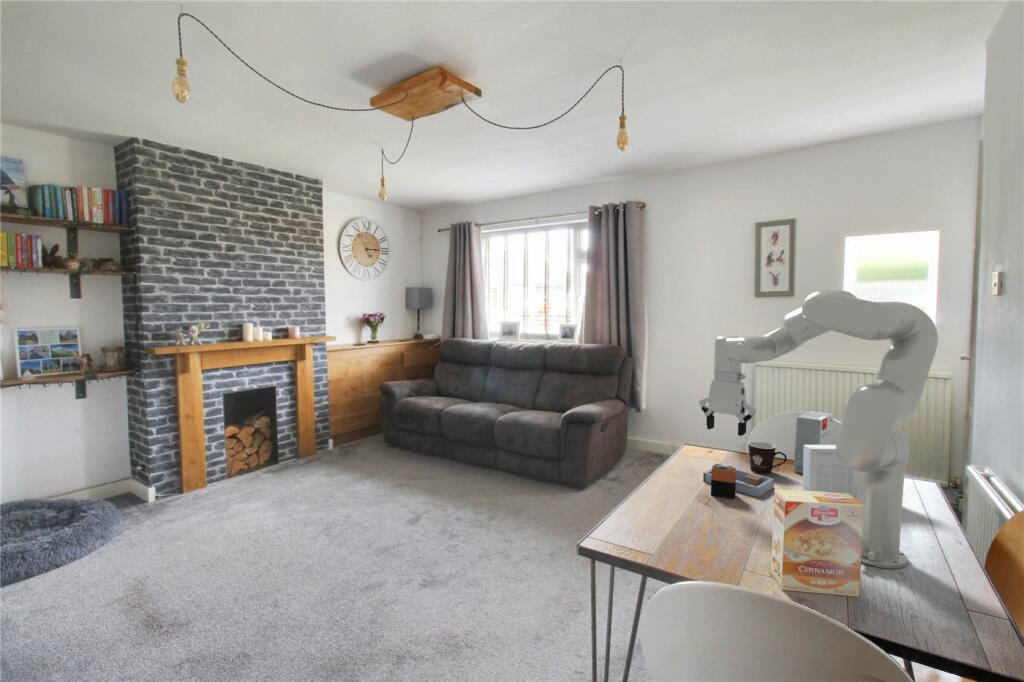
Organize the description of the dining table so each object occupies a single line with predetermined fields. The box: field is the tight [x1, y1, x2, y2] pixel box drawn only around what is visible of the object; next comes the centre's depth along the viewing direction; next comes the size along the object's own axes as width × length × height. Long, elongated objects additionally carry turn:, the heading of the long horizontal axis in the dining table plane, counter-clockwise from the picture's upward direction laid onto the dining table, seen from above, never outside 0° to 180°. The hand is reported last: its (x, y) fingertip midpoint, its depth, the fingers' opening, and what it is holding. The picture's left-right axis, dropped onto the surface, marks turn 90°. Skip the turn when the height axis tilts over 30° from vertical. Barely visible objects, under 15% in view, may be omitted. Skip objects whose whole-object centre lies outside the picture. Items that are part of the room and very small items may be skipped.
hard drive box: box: [793, 410, 834, 475], centre depth 173 cm, size 16×8×20 cm, turn 132°
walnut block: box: [744, 473, 763, 487], centre depth 155 cm, size 4×4×4 cm
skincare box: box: [802, 444, 854, 496], centre depth 149 cm, size 21×6×16 cm, turn 84°
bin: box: [702, 465, 775, 498], centre depth 159 cm, size 12×18×4 cm, turn 40°
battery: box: [710, 463, 737, 500], centre depth 150 cm, size 4×7×10 cm, turn 63°
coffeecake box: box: [770, 488, 864, 598], centre depth 103 cm, size 15×7×20 cm, turn 80°
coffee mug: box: [748, 440, 788, 475], centre depth 169 cm, size 12×9×10 cm
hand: (725, 431), depth 149 cm, fingers open, 9 cm apart
